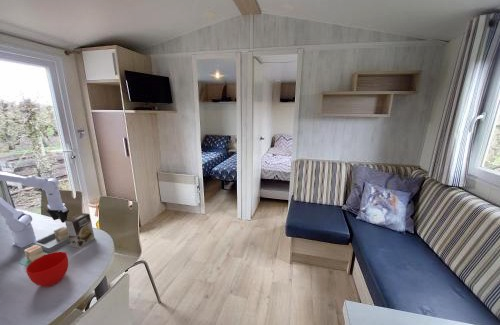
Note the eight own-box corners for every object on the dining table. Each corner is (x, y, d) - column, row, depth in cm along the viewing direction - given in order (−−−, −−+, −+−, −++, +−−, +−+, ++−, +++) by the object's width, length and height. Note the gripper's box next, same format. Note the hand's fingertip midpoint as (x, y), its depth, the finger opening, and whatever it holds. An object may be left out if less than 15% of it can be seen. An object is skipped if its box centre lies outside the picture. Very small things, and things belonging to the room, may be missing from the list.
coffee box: (80, 248, 114) (73, 222, 110) (70, 247, 116) (63, 220, 111) (95, 238, 123) (89, 213, 119) (86, 237, 124) (80, 212, 120)
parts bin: (34, 247, 116) (33, 242, 115) (63, 233, 128) (62, 228, 128) (50, 253, 111) (48, 248, 110) (79, 237, 124) (78, 233, 123)
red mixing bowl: (66, 261, 105) (61, 244, 102) (75, 279, 94) (70, 260, 92) (29, 277, 95) (22, 259, 93) (35, 298, 85) (28, 278, 82)
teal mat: (18, 263, 104) (18, 262, 104) (41, 251, 112) (41, 251, 112) (29, 268, 101) (29, 267, 101) (52, 256, 109) (51, 255, 109)
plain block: (56, 240, 121) (53, 230, 119) (65, 235, 125) (63, 226, 124) (61, 241, 119) (58, 232, 118) (70, 237, 124) (68, 228, 122)
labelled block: (27, 260, 105) (24, 250, 103) (39, 254, 109) (36, 244, 108) (32, 262, 103) (29, 252, 102) (44, 256, 108) (41, 246, 106)
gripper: (70, 198, 122) (75, 219, 125) (55, 194, 127) (60, 215, 130) (56, 203, 115) (62, 225, 119) (40, 199, 120) (46, 220, 124)
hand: (60, 220), depth 124 cm, fingers open, 7 cm apart
